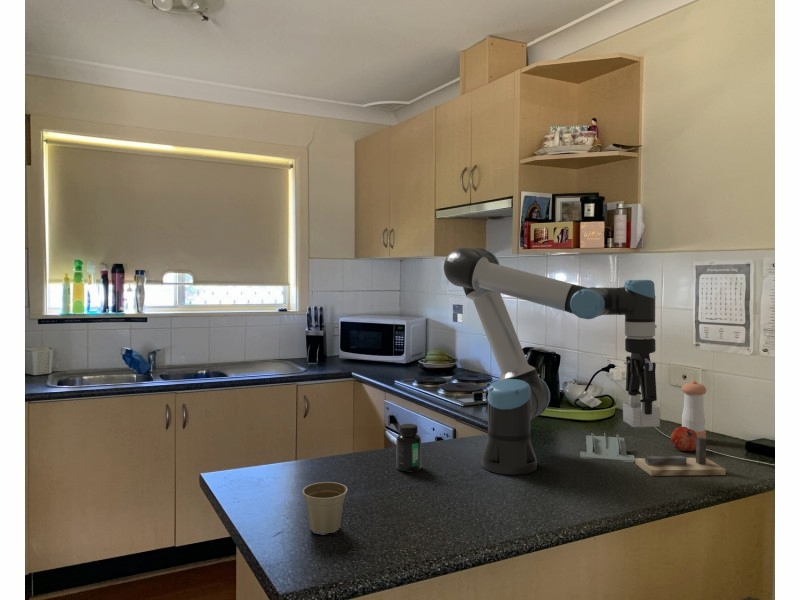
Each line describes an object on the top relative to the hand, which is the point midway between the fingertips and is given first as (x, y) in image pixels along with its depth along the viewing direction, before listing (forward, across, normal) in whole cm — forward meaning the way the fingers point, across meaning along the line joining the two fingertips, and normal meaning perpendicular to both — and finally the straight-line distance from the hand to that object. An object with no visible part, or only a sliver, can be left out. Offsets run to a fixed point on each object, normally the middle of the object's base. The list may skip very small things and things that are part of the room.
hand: (640, 422), depth 158 cm
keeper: (+14, +3, -11) cm, 18 cm away
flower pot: (+13, -34, +81) cm, 89 cm away
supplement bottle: (+13, +4, +63) cm, 64 cm away
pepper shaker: (+14, +30, -29) cm, 44 cm away
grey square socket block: (0, 0, 0) cm, 0 cm away
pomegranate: (+14, +20, -21) cm, 32 cm away
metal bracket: (+14, +17, +4) cm, 22 cm away
